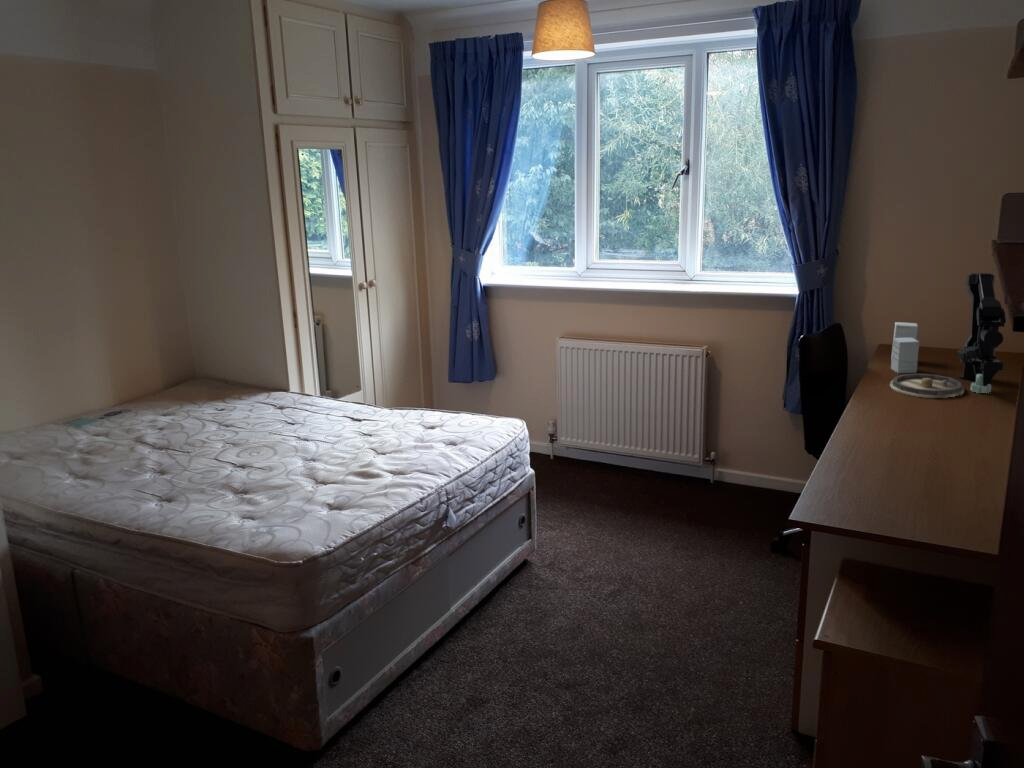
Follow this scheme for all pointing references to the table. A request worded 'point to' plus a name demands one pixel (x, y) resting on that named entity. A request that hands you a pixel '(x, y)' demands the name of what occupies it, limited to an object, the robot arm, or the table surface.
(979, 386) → the pale green domed piece
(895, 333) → the skincare box
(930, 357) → the table surface
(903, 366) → the supplement box
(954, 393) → the carrier plate
